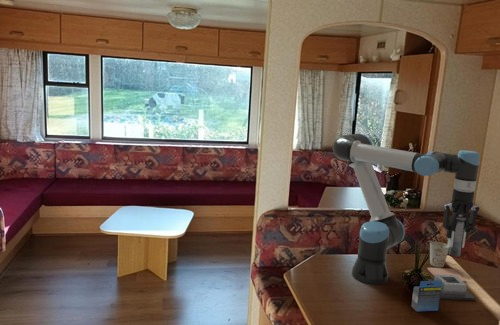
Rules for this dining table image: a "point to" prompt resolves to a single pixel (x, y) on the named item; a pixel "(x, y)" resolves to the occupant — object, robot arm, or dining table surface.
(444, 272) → the rubber mat
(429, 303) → the label tape cartridge
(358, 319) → the dining table surface
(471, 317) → the dining table surface
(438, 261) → the mug
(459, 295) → the chuck block
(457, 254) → the key peg
